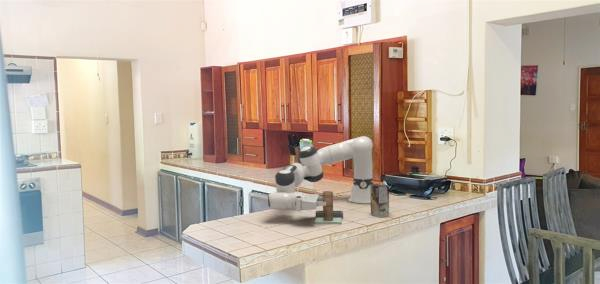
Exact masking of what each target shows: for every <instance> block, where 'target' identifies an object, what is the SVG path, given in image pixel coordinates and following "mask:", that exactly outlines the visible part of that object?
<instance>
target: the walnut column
mask: <svg viewBox="0 0 600 284" xmlns="http://www.w3.org/2000/svg"><path fill="white" fill-rule="evenodd" d="M322 197H323V201H324V202H325V201H326V206H322V211H323V220H324V221H332V220H333V211H334V193H333V191H332V190H331V191H330V190H325V191H322ZM323 201H322V202H323Z"/></svg>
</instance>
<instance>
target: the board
mask: <svg viewBox="0 0 600 284" xmlns="http://www.w3.org/2000/svg"><path fill="white" fill-rule="evenodd" d="M342 221H343V219H342V218H333V220H332V221H324V220H323V218H316V217H315V220H314V225H342V223H343V222H342Z"/></svg>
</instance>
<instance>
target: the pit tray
mask: <svg viewBox="0 0 600 284" xmlns="http://www.w3.org/2000/svg"><path fill="white" fill-rule="evenodd" d="M316 218H323V210H316V211H315V219H316ZM333 218H342V220H343V219H344V211H343V210H333Z"/></svg>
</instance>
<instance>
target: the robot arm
mask: <svg viewBox="0 0 600 284" xmlns="http://www.w3.org/2000/svg"><path fill="white" fill-rule="evenodd" d="M373 147H374V144H373V140H372V139H371V138H370V137H368V136H365V135H361V136H358V137H355V138H351V139H348V140H344V141H341V142H338V143H334V144H331V145H328V146H324V147H322V148H319V149H318V148H315V147H314V146H311V145H309V146H304V147H302V148H301V149H300V150H299V151H298V158H299V160H300V163H299V162H294V163H292V164H289V165H286V166H285V167H284V168H282V169H280V170H279V171H278V172H276V174H275V175H274V179H275V187H276V188H275V189H276V192H272V193H268V196H267V205H268V208H269V209H271V210H277V211H286V210H291V211H296V212H301V211H313V210H316V209H317V207H323V206H326V201H325V202H324V201H323V196H320V194H318V193H317V194H316V193H315V194H313V193H311V194H304V192H301V191H300V192H296V188H297V187H298V186H300V185H301V184H302V183H303V181H304V180H305V181H307V182H310V183H317V182H320V181H321V180H322V179H323V178H324V170H323V168H322V166H326V165H327V166H328V165H332V164H337V163H340V162H344V161H347V160H350V159H353V161H352V162H353V180H352V184H353V185H352V186H351V187H350V197H349V198H348V199H347V202H352V203H353V204H371V191H370V184H374V177H373V156H372V155H373V153H372V152H373V151H372V150H373Z"/></svg>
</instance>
